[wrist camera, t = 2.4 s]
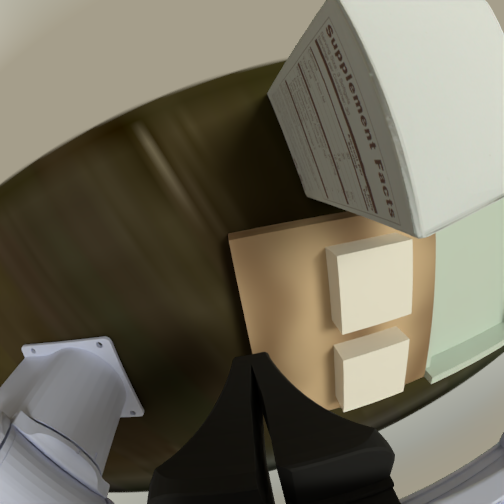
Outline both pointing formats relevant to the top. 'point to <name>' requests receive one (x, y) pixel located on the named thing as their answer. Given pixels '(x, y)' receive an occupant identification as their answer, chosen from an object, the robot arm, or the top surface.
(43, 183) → the top surface
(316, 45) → the supplement box
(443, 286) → the grey-green tray
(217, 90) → the top surface
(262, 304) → the oak board
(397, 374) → the far cream tile
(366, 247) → the near cream tile
